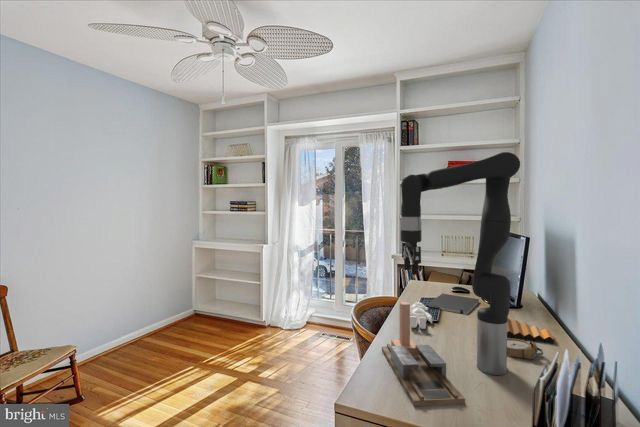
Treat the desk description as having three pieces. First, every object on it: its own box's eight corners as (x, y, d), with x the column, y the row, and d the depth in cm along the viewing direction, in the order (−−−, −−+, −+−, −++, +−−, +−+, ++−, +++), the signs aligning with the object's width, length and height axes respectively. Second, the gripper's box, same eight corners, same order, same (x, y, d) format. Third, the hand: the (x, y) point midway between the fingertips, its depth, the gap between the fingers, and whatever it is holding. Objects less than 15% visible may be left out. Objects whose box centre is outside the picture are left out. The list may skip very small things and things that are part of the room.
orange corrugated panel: (485, 317, 169) (486, 335, 146) (485, 311, 168) (486, 327, 146) (543, 325, 158) (554, 345, 135) (543, 318, 158) (554, 337, 135)
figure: (432, 335, 149) (432, 314, 172) (432, 319, 148) (432, 299, 172) (403, 332, 153) (406, 311, 177) (403, 316, 152) (406, 297, 176)
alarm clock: (501, 336, 136) (544, 340, 126) (503, 348, 136) (547, 353, 126) (493, 345, 128) (538, 349, 118) (495, 358, 128) (541, 363, 118)
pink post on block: (391, 347, 129) (391, 300, 129) (411, 346, 130) (411, 300, 129) (397, 356, 121) (397, 306, 121) (418, 355, 122) (418, 306, 121)
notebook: (442, 296, 207) (426, 308, 185) (442, 293, 207) (426, 303, 185) (479, 303, 194) (467, 315, 172) (479, 299, 194) (467, 311, 172)
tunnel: (390, 359, 119) (390, 346, 119) (428, 358, 120) (428, 344, 120) (403, 380, 105) (403, 364, 105) (446, 378, 106) (446, 363, 106)
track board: (381, 350, 130) (381, 344, 130) (419, 349, 131) (419, 343, 131) (413, 406, 94) (413, 397, 94) (464, 403, 95) (465, 395, 95)
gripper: (428, 230, 116) (428, 276, 116) (414, 227, 130) (414, 268, 131) (407, 230, 116) (407, 276, 116) (395, 227, 130) (395, 268, 130)
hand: (410, 272), depth 123 cm, fingers open, 8 cm apart
